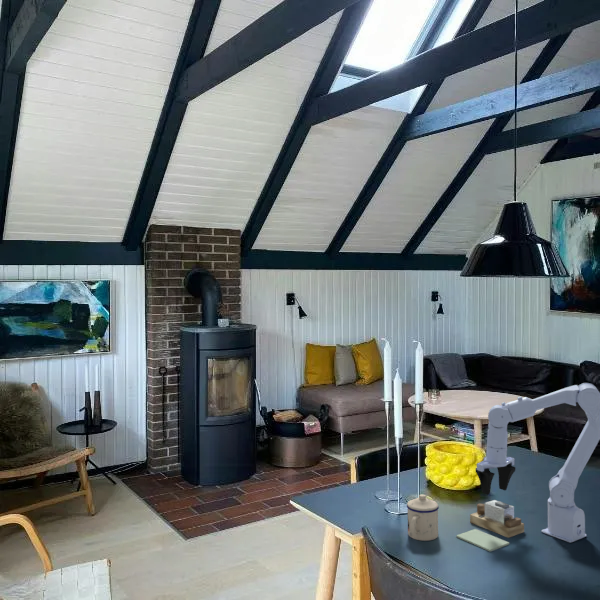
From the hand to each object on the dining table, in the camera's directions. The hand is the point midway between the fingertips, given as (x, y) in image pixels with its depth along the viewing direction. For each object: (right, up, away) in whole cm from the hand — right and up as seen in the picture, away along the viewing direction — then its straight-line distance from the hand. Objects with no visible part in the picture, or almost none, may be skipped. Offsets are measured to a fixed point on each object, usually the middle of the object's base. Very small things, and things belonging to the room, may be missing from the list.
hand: (494, 491), depth 185 cm
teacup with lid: (-23, -11, -6) cm, 26 cm away
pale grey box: (+1, -8, -1) cm, 8 cm away
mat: (-6, -11, -10) cm, 16 cm away
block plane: (+1, -11, 0) cm, 11 cm away
